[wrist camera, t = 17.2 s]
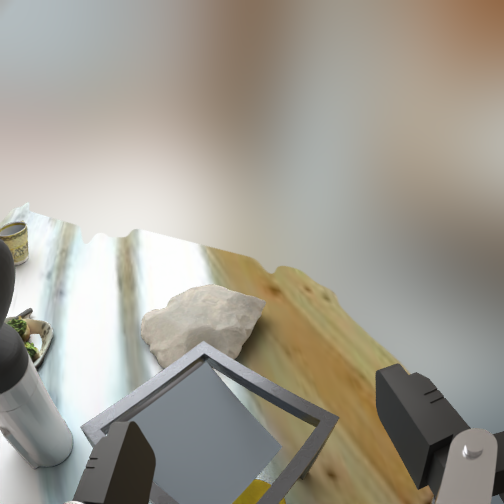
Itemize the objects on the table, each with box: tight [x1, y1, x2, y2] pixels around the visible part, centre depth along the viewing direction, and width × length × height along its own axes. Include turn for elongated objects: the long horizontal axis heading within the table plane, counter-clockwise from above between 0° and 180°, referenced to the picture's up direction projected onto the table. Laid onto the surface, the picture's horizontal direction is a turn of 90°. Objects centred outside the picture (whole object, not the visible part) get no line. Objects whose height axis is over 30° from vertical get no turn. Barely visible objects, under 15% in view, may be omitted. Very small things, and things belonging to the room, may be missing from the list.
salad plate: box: [4, 308, 53, 369], centre depth 49 cm, size 19×18×5 cm
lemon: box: [232, 479, 286, 504], centre depth 30 cm, size 6×6×8 cm
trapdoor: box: [118, 362, 282, 504], centre depth 30 cm, size 14×14×1 cm
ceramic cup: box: [0, 221, 29, 265], centre depth 75 cm, size 13×10×10 cm
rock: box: [141, 284, 266, 368], centre depth 60 cm, size 19×7×25 cm
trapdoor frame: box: [81, 341, 339, 504], centre depth 31 cm, size 19×19×15 cm
